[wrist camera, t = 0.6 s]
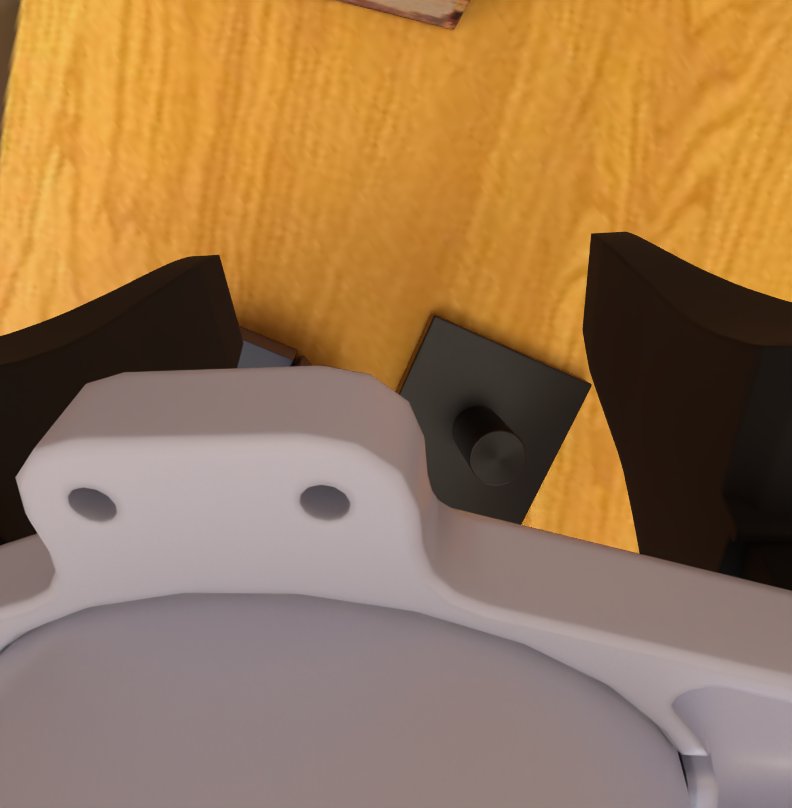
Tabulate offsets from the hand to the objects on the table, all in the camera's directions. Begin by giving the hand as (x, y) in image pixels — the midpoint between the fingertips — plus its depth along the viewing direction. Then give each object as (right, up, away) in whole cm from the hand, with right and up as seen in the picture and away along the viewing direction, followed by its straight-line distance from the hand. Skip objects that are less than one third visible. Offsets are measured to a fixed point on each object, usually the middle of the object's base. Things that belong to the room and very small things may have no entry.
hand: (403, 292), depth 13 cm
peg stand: (+4, -3, +21) cm, 22 cm away
